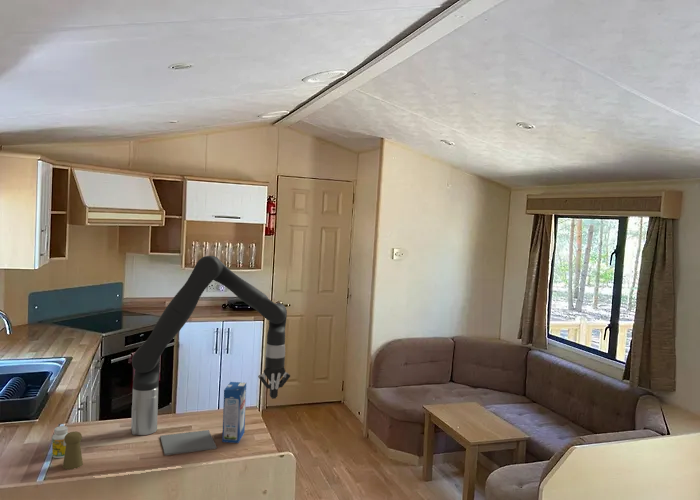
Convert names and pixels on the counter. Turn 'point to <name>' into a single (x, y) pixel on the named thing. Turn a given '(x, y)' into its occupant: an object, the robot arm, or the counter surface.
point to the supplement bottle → (59, 442)
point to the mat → (187, 442)
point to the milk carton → (234, 412)
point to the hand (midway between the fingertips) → (273, 398)
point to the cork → (73, 451)
